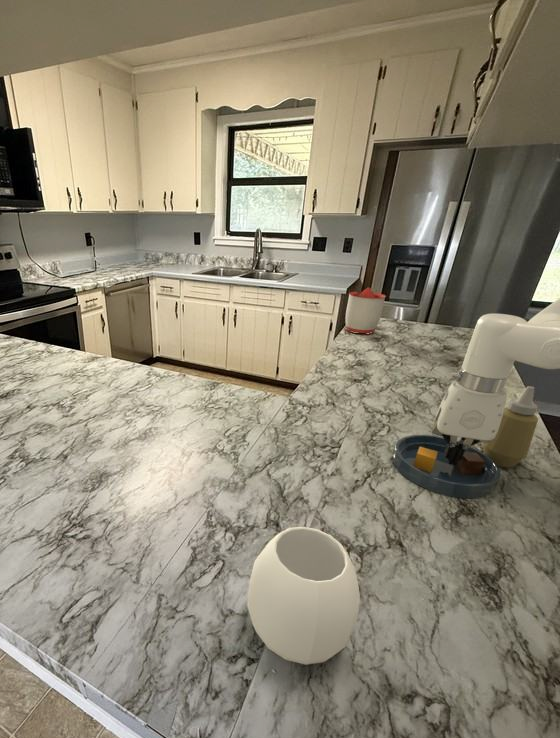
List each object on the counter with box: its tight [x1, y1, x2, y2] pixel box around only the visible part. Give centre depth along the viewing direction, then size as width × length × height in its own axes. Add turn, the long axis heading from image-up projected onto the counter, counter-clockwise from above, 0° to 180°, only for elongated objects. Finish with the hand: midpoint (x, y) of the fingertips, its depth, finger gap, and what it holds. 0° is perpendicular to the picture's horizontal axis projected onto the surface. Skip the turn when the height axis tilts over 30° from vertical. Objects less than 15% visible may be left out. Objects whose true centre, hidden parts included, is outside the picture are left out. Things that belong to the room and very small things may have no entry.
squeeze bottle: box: [482, 385, 539, 468], centre depth 84 cm, size 8×8×18 cm
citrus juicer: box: [345, 286, 387, 333], centre depth 181 cm, size 16×17×20 cm
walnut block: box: [454, 452, 485, 475], centre depth 83 cm, size 4×4×4 cm
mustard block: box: [414, 447, 438, 472], centre depth 84 cm, size 4×4×4 cm
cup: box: [247, 526, 361, 666], centre depth 49 cm, size 13×13×14 cm
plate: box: [391, 434, 501, 499], centre depth 84 cm, size 19×19×4 cm
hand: (450, 461), depth 84 cm, fingers closed
